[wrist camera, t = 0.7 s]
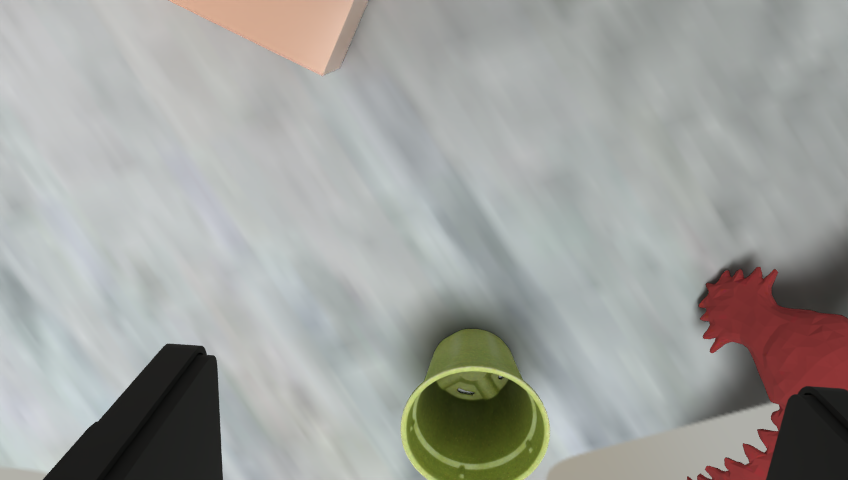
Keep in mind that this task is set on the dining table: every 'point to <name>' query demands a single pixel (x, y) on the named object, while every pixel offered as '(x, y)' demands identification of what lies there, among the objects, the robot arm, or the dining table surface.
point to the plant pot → (474, 414)
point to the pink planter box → (289, 26)
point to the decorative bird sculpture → (773, 352)
